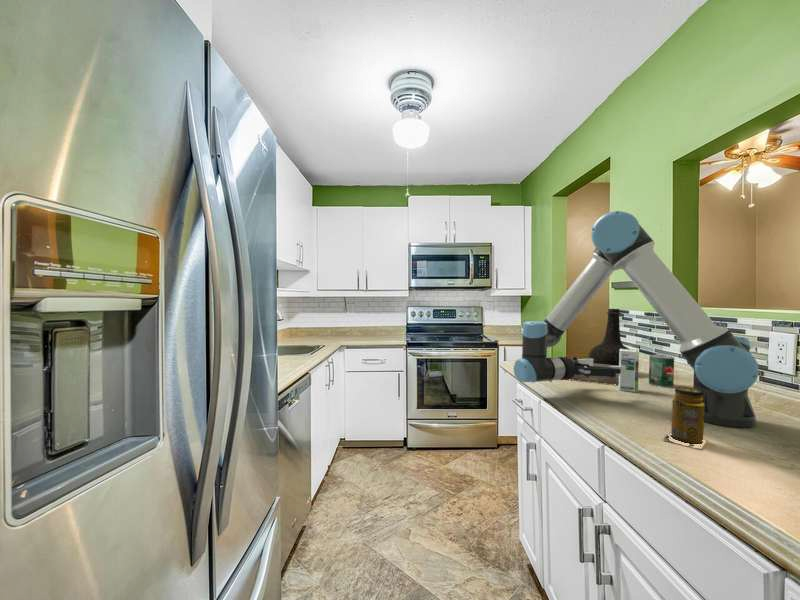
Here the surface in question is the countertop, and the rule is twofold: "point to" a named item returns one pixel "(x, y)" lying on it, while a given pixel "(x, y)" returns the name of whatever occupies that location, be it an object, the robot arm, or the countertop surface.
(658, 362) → the canned tomato
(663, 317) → the robot arm
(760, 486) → the countertop surface
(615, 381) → the socket board
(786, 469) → the countertop surface
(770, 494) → the countertop surface
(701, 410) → the condiment
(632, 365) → the syrup box
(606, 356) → the glass bottle
